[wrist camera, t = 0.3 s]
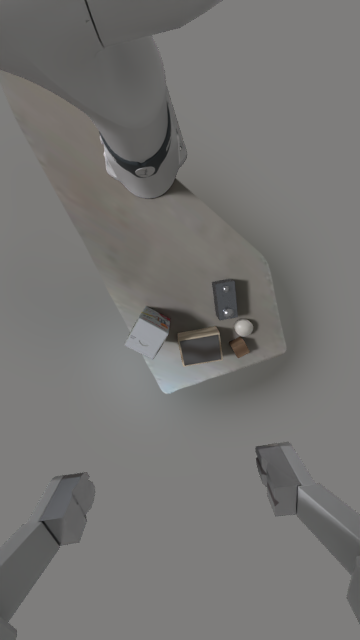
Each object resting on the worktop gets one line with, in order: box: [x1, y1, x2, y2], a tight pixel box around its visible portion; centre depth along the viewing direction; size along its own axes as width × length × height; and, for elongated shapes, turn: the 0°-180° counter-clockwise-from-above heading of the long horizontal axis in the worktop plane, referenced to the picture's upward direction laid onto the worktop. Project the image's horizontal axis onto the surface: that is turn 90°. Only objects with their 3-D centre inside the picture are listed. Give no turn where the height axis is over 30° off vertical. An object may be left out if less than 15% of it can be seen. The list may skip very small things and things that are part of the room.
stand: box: [178, 326, 223, 367], centre depth 55 cm, size 9×12×5 cm
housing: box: [212, 279, 238, 320], centre depth 50 cm, size 10×5×6 cm, turn 10°
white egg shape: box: [234, 318, 253, 337], centre depth 55 cm, size 5×5×2 cm
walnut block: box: [229, 337, 250, 358], centre depth 56 cm, size 4×4×4 cm
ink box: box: [124, 306, 170, 359], centre depth 50 cm, size 9×9×12 cm
